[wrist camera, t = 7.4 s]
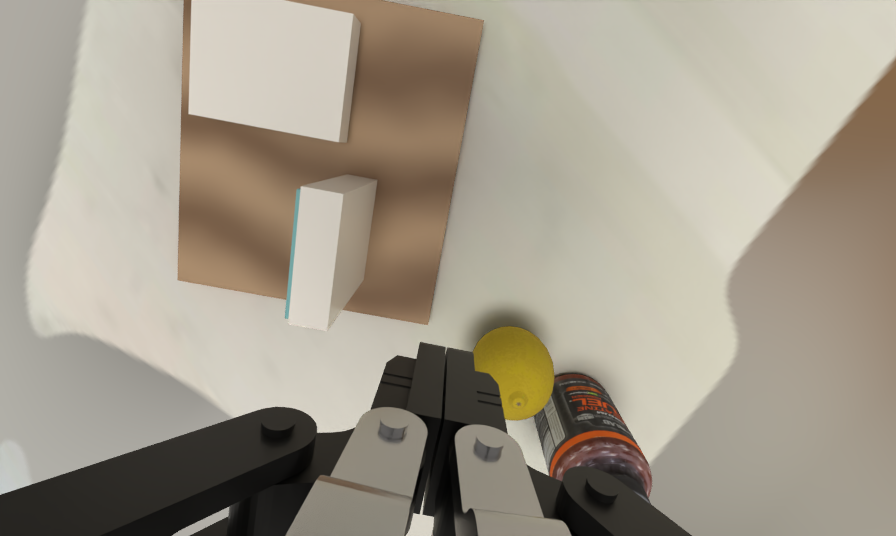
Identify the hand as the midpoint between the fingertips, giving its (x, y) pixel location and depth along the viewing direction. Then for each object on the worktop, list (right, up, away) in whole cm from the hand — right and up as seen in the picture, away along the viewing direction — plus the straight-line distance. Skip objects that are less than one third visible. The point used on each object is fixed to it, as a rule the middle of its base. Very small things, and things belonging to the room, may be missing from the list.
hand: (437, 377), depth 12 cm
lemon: (+5, -3, +22) cm, 22 cm away
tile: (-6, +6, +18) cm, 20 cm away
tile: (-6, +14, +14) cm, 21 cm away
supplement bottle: (+10, -8, +23) cm, 26 cm away
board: (-8, +10, +18) cm, 22 cm away
